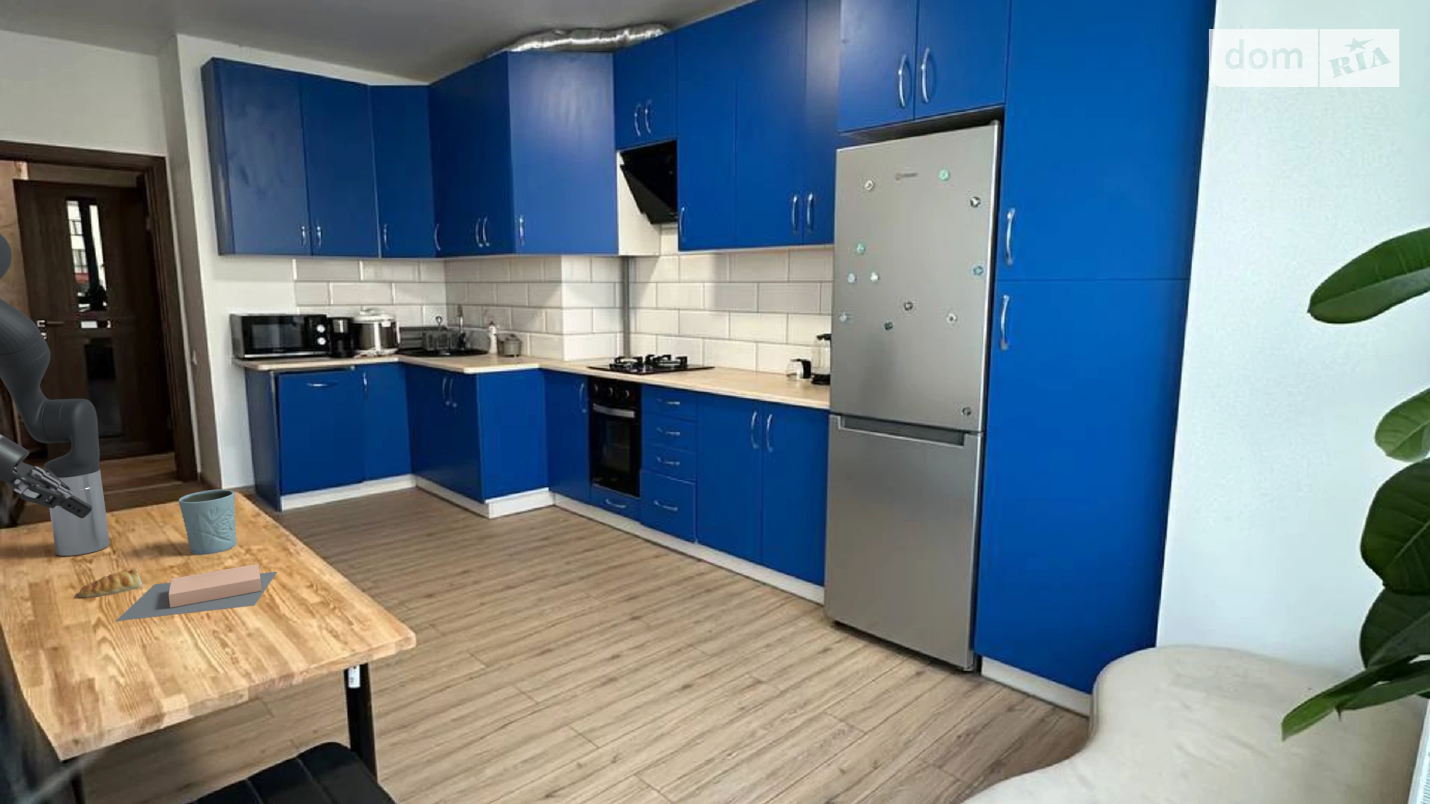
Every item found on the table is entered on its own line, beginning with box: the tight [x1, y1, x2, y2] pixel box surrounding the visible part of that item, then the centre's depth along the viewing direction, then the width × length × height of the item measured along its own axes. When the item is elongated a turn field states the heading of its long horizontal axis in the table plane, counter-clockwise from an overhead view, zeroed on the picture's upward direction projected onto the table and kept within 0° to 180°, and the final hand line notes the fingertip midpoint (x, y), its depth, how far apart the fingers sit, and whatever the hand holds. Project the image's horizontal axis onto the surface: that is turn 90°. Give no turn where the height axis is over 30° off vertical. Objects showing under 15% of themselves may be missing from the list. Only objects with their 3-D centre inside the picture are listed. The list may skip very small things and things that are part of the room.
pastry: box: [78, 568, 143, 599], centre depth 145 cm, size 9×7×4 cm
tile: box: [169, 563, 262, 608], centre depth 143 cm, size 3×9×14 cm
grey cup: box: [178, 489, 237, 556], centre depth 168 cm, size 10×10×12 cm
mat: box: [115, 571, 278, 622], centre depth 142 cm, size 17×21×1 cm
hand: (88, 513), depth 133 cm, fingers closed
